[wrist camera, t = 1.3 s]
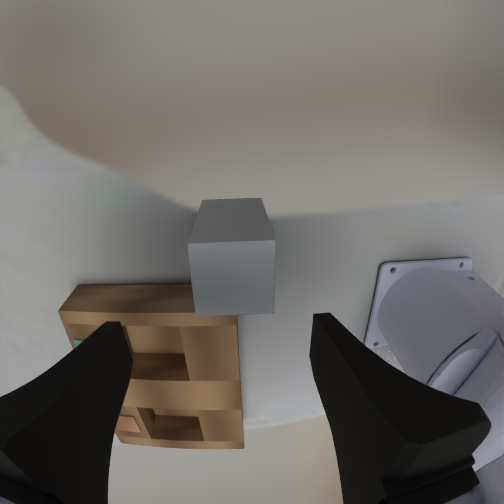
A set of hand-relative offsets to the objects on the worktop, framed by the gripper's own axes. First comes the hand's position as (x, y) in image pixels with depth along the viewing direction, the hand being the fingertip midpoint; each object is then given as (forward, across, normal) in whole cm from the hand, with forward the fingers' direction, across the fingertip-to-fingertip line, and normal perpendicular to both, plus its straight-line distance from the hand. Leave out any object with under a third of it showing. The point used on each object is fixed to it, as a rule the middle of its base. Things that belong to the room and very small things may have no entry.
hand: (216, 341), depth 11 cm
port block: (+10, +6, +11) cm, 16 cm away
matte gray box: (+10, -1, -1) cm, 10 cm away
